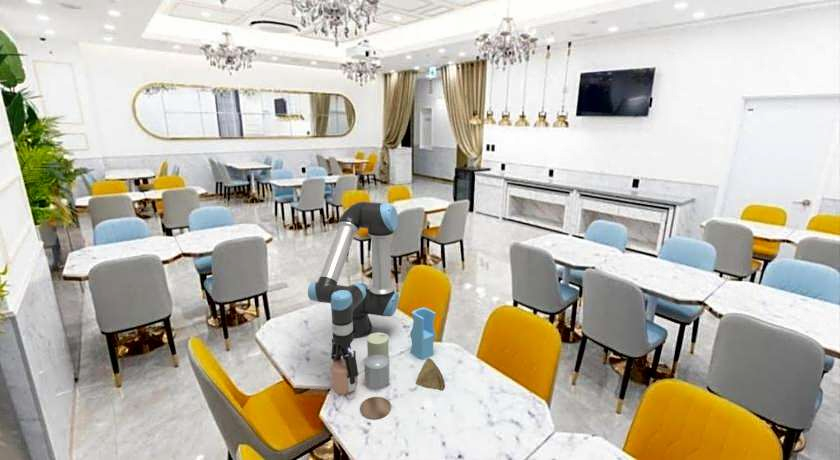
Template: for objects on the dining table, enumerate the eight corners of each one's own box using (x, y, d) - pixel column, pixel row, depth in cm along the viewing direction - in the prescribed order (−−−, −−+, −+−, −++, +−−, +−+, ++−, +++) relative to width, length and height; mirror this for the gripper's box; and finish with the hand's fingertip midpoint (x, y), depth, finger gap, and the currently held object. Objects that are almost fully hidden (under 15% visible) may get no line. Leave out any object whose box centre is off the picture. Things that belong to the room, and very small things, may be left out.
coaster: (379, 394, 149) (379, 392, 149) (397, 409, 141) (397, 408, 141) (354, 406, 142) (354, 405, 142) (371, 424, 134) (371, 422, 134)
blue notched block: (421, 360, 171) (422, 318, 166) (410, 352, 176) (410, 311, 171) (435, 353, 176) (436, 312, 171) (423, 346, 182) (423, 306, 176)
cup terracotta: (349, 375, 160) (348, 355, 158) (361, 386, 153) (360, 365, 151) (328, 384, 154) (327, 363, 152) (340, 396, 148) (339, 375, 145)
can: (393, 361, 170) (393, 336, 166) (377, 371, 163) (376, 345, 160) (379, 353, 176) (378, 329, 173) (362, 362, 169) (362, 337, 166)
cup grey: (380, 372, 163) (379, 352, 160) (393, 383, 156) (393, 362, 153) (361, 380, 157) (360, 360, 154) (374, 392, 150) (373, 371, 148)
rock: (452, 381, 154) (437, 365, 161) (444, 371, 148) (428, 356, 156) (433, 402, 151) (418, 385, 159) (424, 393, 146) (409, 377, 153)
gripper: (320, 323, 153) (323, 374, 159) (349, 347, 137) (351, 402, 143) (337, 317, 158) (339, 367, 164) (367, 340, 142) (368, 393, 148)
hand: (345, 383), depth 154 cm, fingers closed on cup terracotta, 9 cm apart
